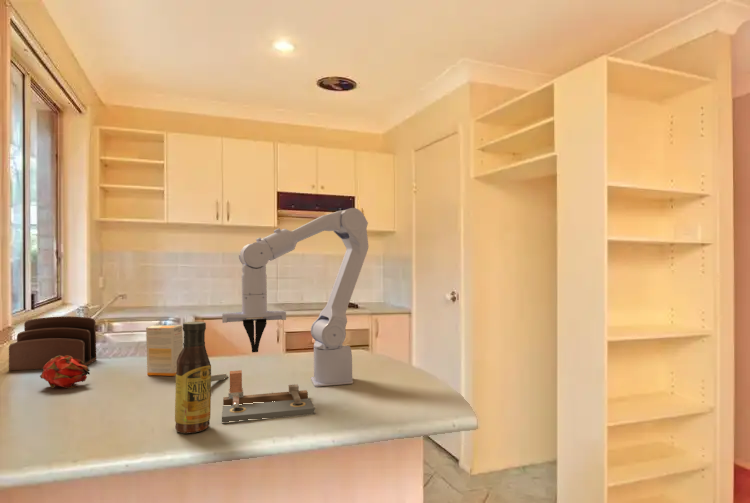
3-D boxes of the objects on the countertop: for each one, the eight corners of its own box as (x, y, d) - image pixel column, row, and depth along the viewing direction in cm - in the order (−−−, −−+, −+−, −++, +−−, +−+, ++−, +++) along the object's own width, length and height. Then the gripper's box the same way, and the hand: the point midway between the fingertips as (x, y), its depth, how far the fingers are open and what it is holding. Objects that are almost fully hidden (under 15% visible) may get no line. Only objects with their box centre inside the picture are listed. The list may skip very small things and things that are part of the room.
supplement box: (184, 372, 137) (183, 324, 137) (174, 376, 132) (173, 327, 132) (157, 371, 138) (156, 324, 138) (146, 375, 133) (145, 326, 133)
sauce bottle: (189, 437, 88) (188, 326, 88) (167, 431, 92) (166, 323, 92) (218, 426, 94) (217, 321, 94) (197, 420, 97) (196, 319, 97)
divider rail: (306, 396, 112) (306, 383, 112) (312, 409, 103) (312, 395, 103) (223, 404, 108) (223, 390, 108) (222, 418, 98) (222, 403, 98)
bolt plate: (310, 403, 107) (309, 397, 107) (314, 414, 100) (314, 407, 100) (222, 411, 102) (222, 405, 102) (221, 423, 96) (221, 416, 96)
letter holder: (25, 363, 150) (25, 317, 150) (97, 360, 154) (96, 315, 154) (8, 371, 140) (7, 321, 140) (84, 367, 144) (84, 319, 144)
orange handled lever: (243, 394, 109) (242, 369, 109) (243, 408, 99) (243, 381, 99) (228, 396, 108) (228, 370, 108) (228, 410, 99) (227, 382, 99)
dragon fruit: (44, 391, 125) (87, 399, 123) (23, 378, 118) (68, 387, 116) (62, 359, 130) (104, 367, 128) (44, 346, 123) (87, 354, 121)
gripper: (283, 291, 123) (284, 346, 123) (222, 293, 119) (223, 350, 119) (286, 294, 116) (287, 352, 116) (221, 296, 112) (222, 356, 112)
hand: (255, 351), depth 117 cm, fingers closed
